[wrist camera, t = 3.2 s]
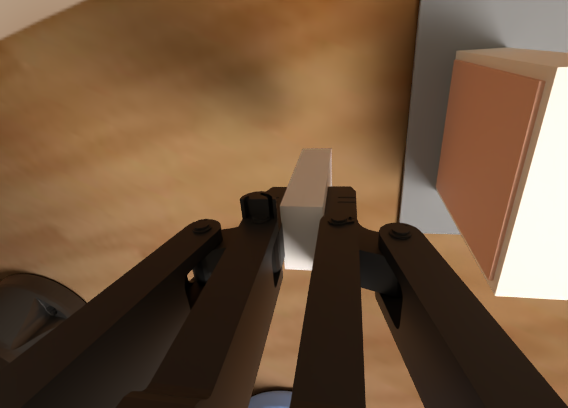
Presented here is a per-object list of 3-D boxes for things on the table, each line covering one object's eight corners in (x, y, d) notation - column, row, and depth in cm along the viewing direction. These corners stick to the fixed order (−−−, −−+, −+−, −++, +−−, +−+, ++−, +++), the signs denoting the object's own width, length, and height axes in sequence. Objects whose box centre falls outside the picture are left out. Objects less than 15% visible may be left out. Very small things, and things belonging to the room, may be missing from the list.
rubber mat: (398, 229, 29) (398, 232, 28) (421, -18, 21) (423, -19, 20) (674, 236, 25) (680, 240, 25) (831, -60, 17) (844, -62, 17)
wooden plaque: (433, 190, 26) (490, 295, 16) (453, 50, 22) (551, 67, 11) (477, 190, 26) (567, 299, 15) (507, 47, 21) (663, 61, 11)
